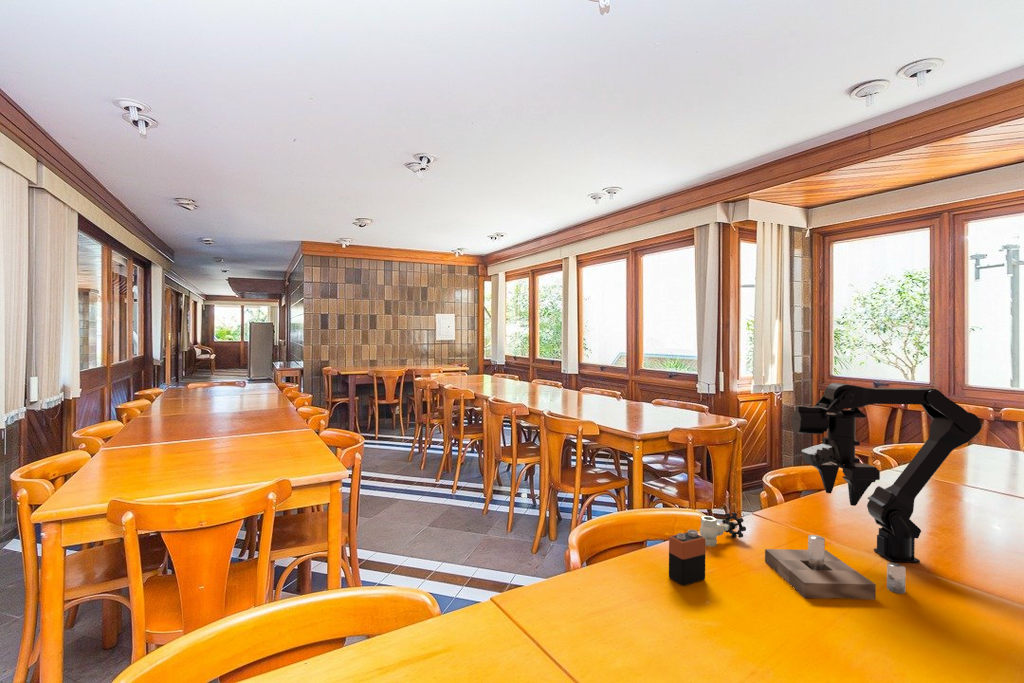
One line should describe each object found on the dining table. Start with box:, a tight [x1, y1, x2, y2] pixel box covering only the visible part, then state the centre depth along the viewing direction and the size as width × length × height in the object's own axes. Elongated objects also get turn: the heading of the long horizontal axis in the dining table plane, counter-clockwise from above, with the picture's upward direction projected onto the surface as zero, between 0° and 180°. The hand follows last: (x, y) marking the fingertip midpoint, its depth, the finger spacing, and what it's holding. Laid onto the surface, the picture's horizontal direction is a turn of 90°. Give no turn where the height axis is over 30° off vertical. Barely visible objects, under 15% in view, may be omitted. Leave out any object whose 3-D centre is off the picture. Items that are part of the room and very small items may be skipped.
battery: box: [668, 529, 707, 587], centre depth 106 cm, size 4×7×10 cm, turn 117°
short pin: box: [886, 562, 906, 595], centre depth 102 cm, size 3×3×5 cm
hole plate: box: [764, 548, 877, 600], centre depth 106 cm, size 14×16×3 cm
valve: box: [699, 512, 747, 548], centre depth 126 cm, size 7×7×12 cm
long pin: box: [807, 534, 826, 570], centre depth 106 cm, size 3×3×9 cm
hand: (840, 499), depth 120 cm, fingers open, 9 cm apart
